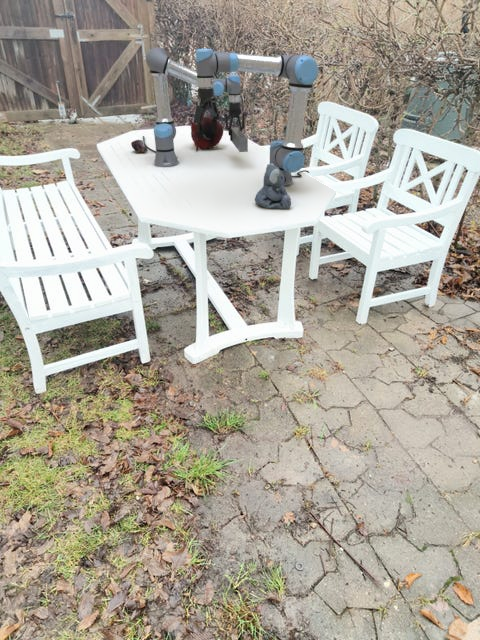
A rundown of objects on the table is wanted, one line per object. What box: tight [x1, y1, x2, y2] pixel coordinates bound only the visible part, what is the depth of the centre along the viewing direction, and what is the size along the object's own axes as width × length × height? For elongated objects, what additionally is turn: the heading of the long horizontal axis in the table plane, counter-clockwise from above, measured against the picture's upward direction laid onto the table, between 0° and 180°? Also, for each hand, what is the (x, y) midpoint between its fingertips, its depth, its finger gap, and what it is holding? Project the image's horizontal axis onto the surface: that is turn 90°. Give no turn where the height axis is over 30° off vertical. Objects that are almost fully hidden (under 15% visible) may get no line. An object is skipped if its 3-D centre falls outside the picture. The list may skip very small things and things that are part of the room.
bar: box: [231, 127, 249, 153], centre depth 287 cm, size 32×5×8 cm, turn 11°
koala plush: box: [254, 162, 292, 210], centre depth 225 cm, size 17×18×20 cm
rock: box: [130, 139, 149, 153], centre depth 317 cm, size 12×9×10 cm
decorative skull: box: [189, 116, 224, 152], centre depth 324 cm, size 21×24×25 cm
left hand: (235, 140), depth 300 cm, fingers closed on bar, 5 cm apart
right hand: (207, 136), depth 220 cm, fingers open, 13 cm apart
